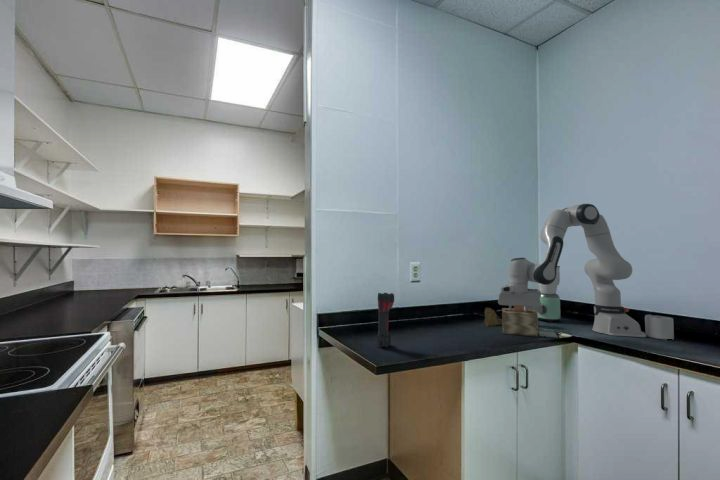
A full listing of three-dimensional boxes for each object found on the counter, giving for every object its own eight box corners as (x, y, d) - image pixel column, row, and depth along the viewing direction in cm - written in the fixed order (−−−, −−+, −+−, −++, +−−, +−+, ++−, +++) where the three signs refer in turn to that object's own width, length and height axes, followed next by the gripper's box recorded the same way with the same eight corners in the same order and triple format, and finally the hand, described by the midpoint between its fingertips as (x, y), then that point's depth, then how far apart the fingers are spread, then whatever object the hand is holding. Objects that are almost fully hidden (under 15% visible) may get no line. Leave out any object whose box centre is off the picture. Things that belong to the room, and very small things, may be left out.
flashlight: (392, 343, 150) (393, 292, 151) (395, 347, 142) (395, 294, 143) (375, 343, 149) (376, 292, 150) (377, 347, 141) (377, 294, 143)
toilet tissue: (664, 340, 159) (663, 319, 159) (637, 334, 170) (636, 315, 171) (679, 339, 162) (678, 318, 162) (652, 333, 173) (651, 314, 174)
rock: (498, 319, 197) (481, 316, 199) (503, 309, 192) (485, 306, 194) (501, 333, 189) (483, 330, 190) (506, 323, 184) (487, 320, 185)
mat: (554, 333, 171) (554, 332, 171) (557, 337, 162) (557, 336, 162) (537, 331, 174) (537, 330, 175) (539, 336, 165) (539, 334, 165)
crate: (534, 330, 177) (534, 310, 177) (537, 336, 164) (537, 314, 164) (502, 328, 183) (502, 308, 183) (502, 333, 170) (502, 312, 171)
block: (523, 320, 175) (523, 305, 175) (524, 321, 171) (523, 306, 171) (514, 319, 177) (513, 304, 177) (514, 321, 172) (514, 305, 173)
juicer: (550, 323, 195) (549, 264, 197) (529, 319, 207) (528, 264, 209) (569, 321, 204) (568, 264, 206) (548, 317, 216) (547, 264, 218)
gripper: (540, 288, 173) (540, 315, 173) (498, 286, 181) (498, 312, 181) (541, 289, 167) (542, 317, 167) (497, 287, 175) (498, 314, 175)
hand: (518, 314), depth 174 cm, fingers open, 4 cm apart
